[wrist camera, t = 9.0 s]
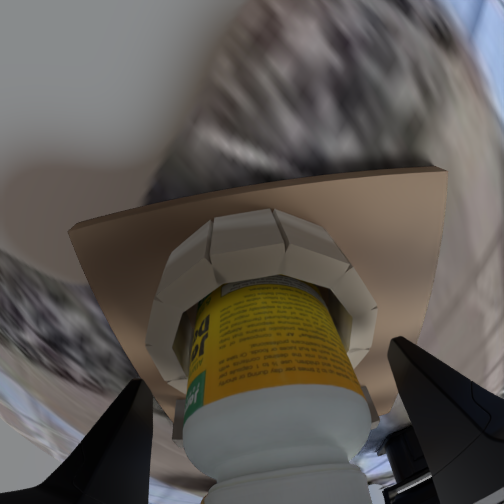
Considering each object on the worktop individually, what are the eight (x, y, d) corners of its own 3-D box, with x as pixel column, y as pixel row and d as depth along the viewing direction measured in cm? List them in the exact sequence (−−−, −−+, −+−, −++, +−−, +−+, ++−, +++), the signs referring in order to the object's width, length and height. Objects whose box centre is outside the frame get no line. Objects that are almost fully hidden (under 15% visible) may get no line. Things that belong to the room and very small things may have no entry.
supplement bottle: (311, 341, 14) (362, 521, 5) (205, 347, 14) (199, 539, 5) (324, 246, 11) (444, 476, 3) (190, 252, 11) (142, 521, 3)
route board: (385, 404, 20) (400, 439, 17) (194, 438, 20) (192, 477, 17) (435, 166, 11) (493, 191, 8) (77, 222, 11) (31, 266, 8)
